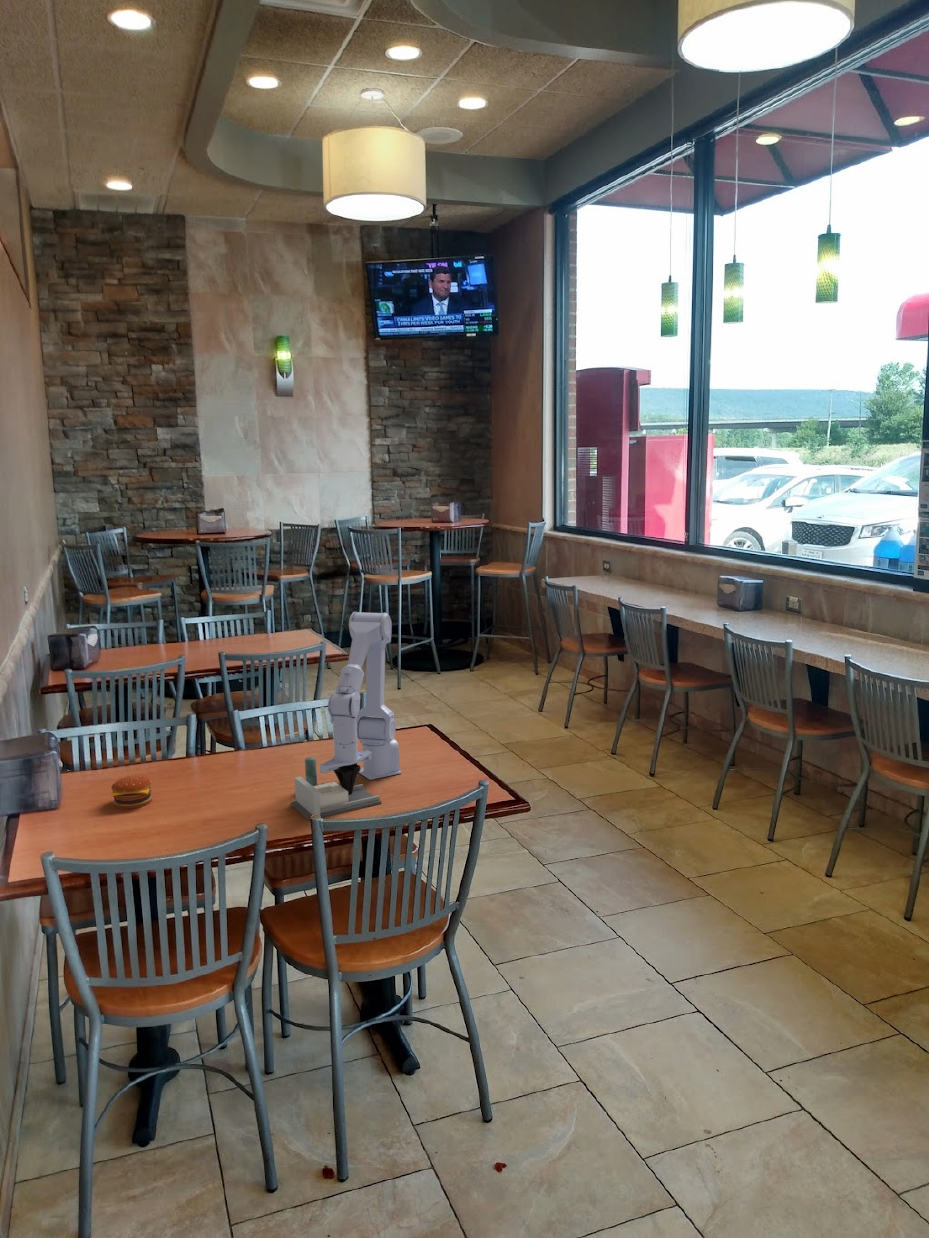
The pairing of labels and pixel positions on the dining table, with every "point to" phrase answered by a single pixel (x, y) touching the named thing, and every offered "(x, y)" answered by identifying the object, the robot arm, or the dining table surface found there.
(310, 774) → the dowel
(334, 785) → the sliding block
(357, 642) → the robot arm
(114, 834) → the dining table surface
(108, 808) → the dining table surface
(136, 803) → the hamburger
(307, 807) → the base
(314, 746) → the dining table surface
